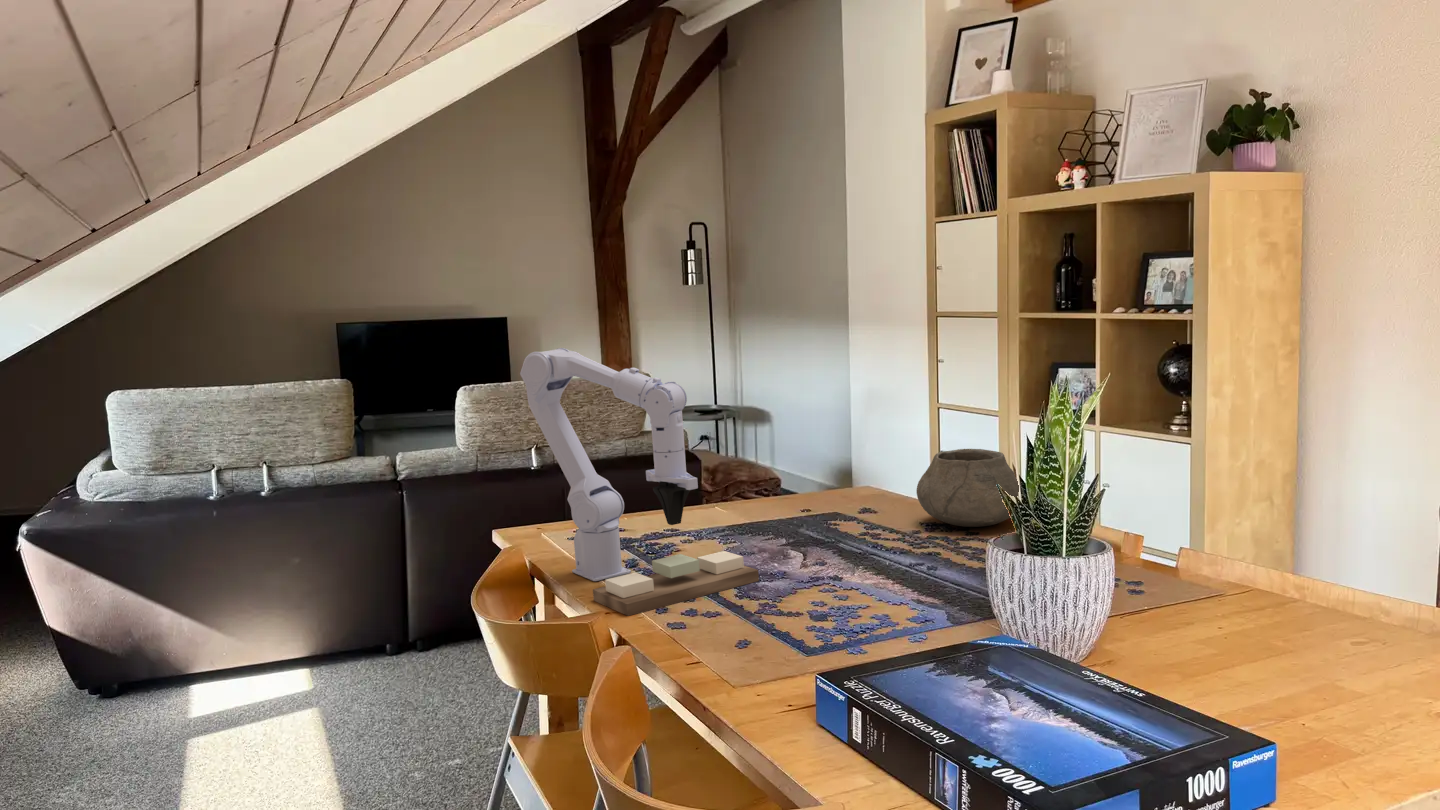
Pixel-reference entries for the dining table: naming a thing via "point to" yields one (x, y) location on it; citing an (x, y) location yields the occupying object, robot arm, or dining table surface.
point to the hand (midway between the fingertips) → (674, 523)
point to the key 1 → (629, 585)
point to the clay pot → (967, 487)
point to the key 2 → (720, 562)
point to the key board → (676, 589)
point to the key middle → (675, 565)
